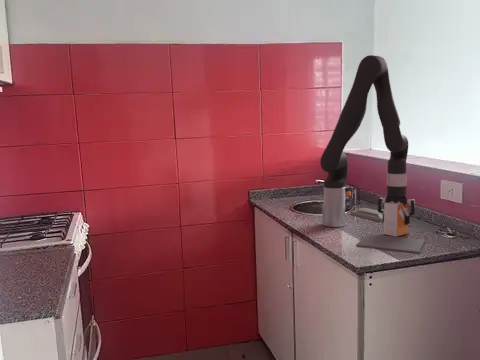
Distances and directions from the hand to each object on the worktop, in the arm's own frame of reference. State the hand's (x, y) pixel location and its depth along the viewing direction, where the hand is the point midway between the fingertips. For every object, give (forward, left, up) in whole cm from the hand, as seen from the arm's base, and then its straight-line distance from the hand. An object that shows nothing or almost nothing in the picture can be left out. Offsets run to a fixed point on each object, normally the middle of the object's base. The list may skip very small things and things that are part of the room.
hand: (396, 223), depth 182 cm
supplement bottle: (-32, +40, -4) cm, 52 cm away
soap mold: (-15, +27, -5) cm, 31 cm away
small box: (0, 0, -4) cm, 4 cm away
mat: (+1, -15, -4) cm, 16 cm away
